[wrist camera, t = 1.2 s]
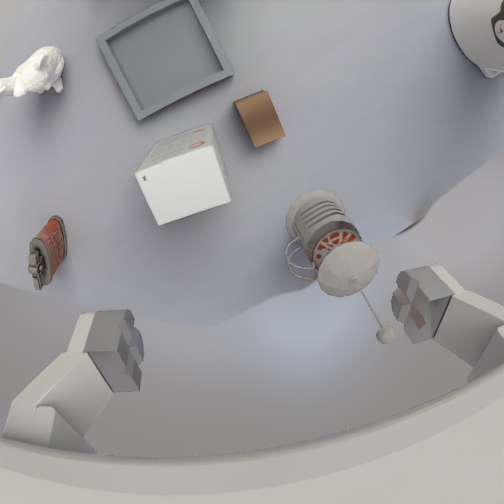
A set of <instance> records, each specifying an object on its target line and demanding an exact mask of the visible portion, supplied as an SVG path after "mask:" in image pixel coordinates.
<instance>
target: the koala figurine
mask: <svg viewBox="0 0 504 504" xmlns="http://www.w3.org/2000/svg"><path fill="white" fill-rule="evenodd" d="M64 63H65V62H64V59H63V56H62V54H61V52H60V50H59V49H58V48H56V47H52V46H48V47H43V48H40V49H39V50H37V51H36V52H35V53H34V54H33V55H32V56H31V57H29V59H28V60H27V61H26V62H24V63H23V64H22V65H20V66H19V67H18V68H17V70H16V71H15V73H14V74H13V76H12V77H8V78H1V79H0V98H1V97H2V96H4V95H6V96H7V95H8V96H10V95H11V96H12V95H14V97H15V98H20V97H22V96H23V95H24V94H25V93H28V92H33V93H36V92H38V93H39V94H41V93H43V92H44V90H49V89H50V87H54V88H55V90H56V92H57V93H60V92H61V91H62V89H63V86H62V79H61V77H60V76H61V74H62V70H63V68H64Z"/></svg>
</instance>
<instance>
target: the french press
mask: <svg viewBox="0 0 504 504" xmlns="http://www.w3.org/2000/svg"><path fill="white" fill-rule="evenodd" d="M286 228H287V230H288V232H289V234H290V236H291V237H292V238H293V239H294V240H292V241H291V242H290V243H289V244H288V245H287V247H286V250H285V256H286V259H287V261H288V262H287V264H288V268H289V271H290V272H291V273H292V274H293V275H295V276H296V277H298V278H302V279H305V280H314V279H316V278H317V275H316V273H315V269H314V268H316V269H317V270H318V278H317V279H318V283H319V285H320V287H321V290H323V291H324V292H325V293H327V294H328V295H331V296H337V297H343V296H349V295H352V294H354V293H356V292H358V291H361V293H362V295H363V297H364V298H365V300H366V302H367V304H368V305H369V307H370V309H371V311H372V312H373V314H374V316H375V318H376V320H377V321H378V323H379V325H380V327H381V329H380V330H379V331H378V332H377V334H376V336H377V339H378V341H380V342H381V343H383V344H387V343H389V342H390V341H391V340H393V339H394V336H395V332H394V329H393V327H392V326H385V327H383V326H382V325H381V323H380V321H379V319H378V317H377V316H376V314H375V312H374V310H373V308H372V307H371V305H370V304H369V302H368V300H367V298H366V296H365V295H364V293H363V291H362V289H363V288H365V287H366V286H367V285H368V284H369V283H370V282H371V281H372V279H373V278H374V276H375V274H376V273H377V270H378V266H379V258H378V254H377V251H376V250H375V249H374V248H373V247H372V246H371V245H370V244H367V243H364V242H362V240H361V237H360V235H359V232H358V231H357V229H356V228H355V226H354V225H353V224H352V223H351V221H350V220H349V219H348V218H347V216H346V215H345V208H344V205H343V202H342V200H341V199H340V198H339V197H338V196H337V195H336V194H335V193H333V192H330V191H327V190H324V189H322V190H311V191H309V192H307V193H305V194H302V195H300V196H299V197H298V198H297V199H296V200H295V201H294V202H293V203H292V204H291V206H290V208H289V211H288V213H287V215H286ZM294 241H297V242H298V243H300V247H298V248H297V249H295V250H294V251H293V252H292V253H291V254H290V255H289V258H288V255H287V250H288V247H289V246H290V245H291V244H292V243H293V242H294ZM302 246H303V248H304V250H305V252H306V254H307V256H308V258H309V260H310V262H311V263H312V267H311V268H310V267H301V266H297V265H295V264H293V263H292V262H291V261H290V257H291V255H292V254H293V253H294V252H296V251H297V250H299V249H300V248H301V247H302ZM307 246H309V247H311V248H313V250H312V249H310V248H309V247H307ZM308 249H309V250H311V251H312V252H310V251H309V250H308ZM311 254H312V256H311ZM289 263H290V264H291V265H293V266H295V267H297V268H300V269H312V270H313V273H314V276H315V277H314V278H305V277H302V276H299V275H297V274H296V273H294V272H293V271H292V270H291V267H290V265H289Z"/></svg>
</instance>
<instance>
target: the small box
mask: <svg viewBox="0 0 504 504" xmlns="http://www.w3.org/2000/svg"><path fill="white" fill-rule="evenodd" d="M134 175H135V177H136V179H137V181H138V183H139V185H140V187H141V189H142V192H143V194H144V196H145V198H146V200H147V202H148V205H149V207H150V209H151V211H152V213H153V215H154V217H155V219H156V221H157V223H158V226H161V225H164V224H167V223H170V222H173V221H176V220H179V219H181V218H184V217H187V216H190V215H193V214H196V213H199V212H202V211H205V210H208V209H211V208H214V207H217V206H221V205H224V204H227V203H230V202H231V196H230V190H229V184H228V177H227V171H226V166H225V162H224V159H223V156H222V153H221V150H220V147H219V144H218V141H217V138H216V135H215V132H214V129H213V126H212V124H211V123H210V124H207V125H204V126H201V127H198V128H195V129H192V130H189V131H186V132H184V133H181V134H178V135H175V136H173V137H170V138H168V139H165V140H163V141H160V142H158V143H156V144H155V145H154V147H153V148H152V150H151V151H150V152H149V154H148V155H147V156H146V158H145V159H144V161H143V162H142V163H141V165H140V166H139V168H138V169H137V170H136V172H135V173H134Z"/></svg>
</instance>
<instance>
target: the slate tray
mask: <svg viewBox="0 0 504 504" xmlns="http://www.w3.org/2000/svg"><path fill="white" fill-rule="evenodd" d="M96 41H97V43H98V45H99V47H100V49H101V51H102V53H103V55H104V57H105V59H106V61H107V63H108V65H109V67H110V68H111V70H112V72H113V74H114V76H115V78H116V80H117V82H118V84H119V86H120V88H121V90H122V91H123V93H124V95H125V97H126V99H127V101H128V103H129V105H130V106H131V108H132V110H133V112H134V114H135V116H136V118H137V119H138V121H140V120H141V119H143V118H145V117H147V116H148V115H150V114H152V113H154V112H156V111H158V110H159V109H161V108H163V107H165V106H167V105H169V104H171V103H173V102H175V101H177V100H179V99H181V98H183V97H185V96H187V95H189V94H191V93H193V92H195V91H197V90H199V89H201V88H203V87H206V86H208V85H210V84H212V83H214V82H217V81H219V80H221V79H224V78H226V77H228V76H231V75H233V74H235V73H234V71H233V69H232V67H231V64H230V62H229V60H228V58H227V56H226V54H225V52H224V50H223V48H222V46H221V44H220V42H219V40H218V38H217V36H216V34H215V32H214V30H213V28H212V26H211V24H210V22H209V20H208V18H207V16H206V14H205V12H204V10H203V8H202V6H201V4H200V2H199V0H163V1H161V2H159V3H157V4H155V5H153V6H151V7H149V8H147V9H145V10H143V11H141V12H139V13H137V14H136V15H134V16H132V17H130V18H128V19H127V20H125V21H123V22H121V23H120V24H118V25H116V26H115V27H113V28H111V29H110V30H108V31H107V32H105V33H103V34H102V35H100V36H99V37H97V38H96Z"/></svg>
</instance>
